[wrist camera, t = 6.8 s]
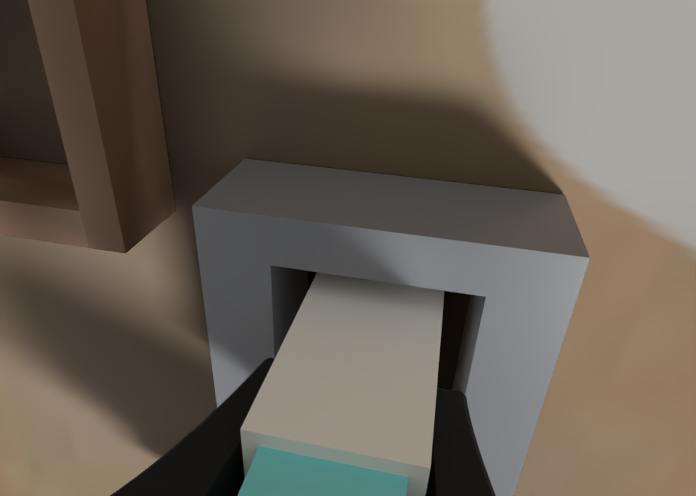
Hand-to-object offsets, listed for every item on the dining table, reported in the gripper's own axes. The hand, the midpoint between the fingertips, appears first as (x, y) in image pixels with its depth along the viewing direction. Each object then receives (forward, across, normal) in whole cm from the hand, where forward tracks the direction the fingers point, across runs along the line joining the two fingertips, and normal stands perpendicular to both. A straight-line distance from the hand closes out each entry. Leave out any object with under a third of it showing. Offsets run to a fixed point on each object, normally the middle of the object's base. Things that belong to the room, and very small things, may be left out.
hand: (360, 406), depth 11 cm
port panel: (+4, 0, 0) cm, 4 cm away
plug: (+3, 0, 0) cm, 4 cm away
